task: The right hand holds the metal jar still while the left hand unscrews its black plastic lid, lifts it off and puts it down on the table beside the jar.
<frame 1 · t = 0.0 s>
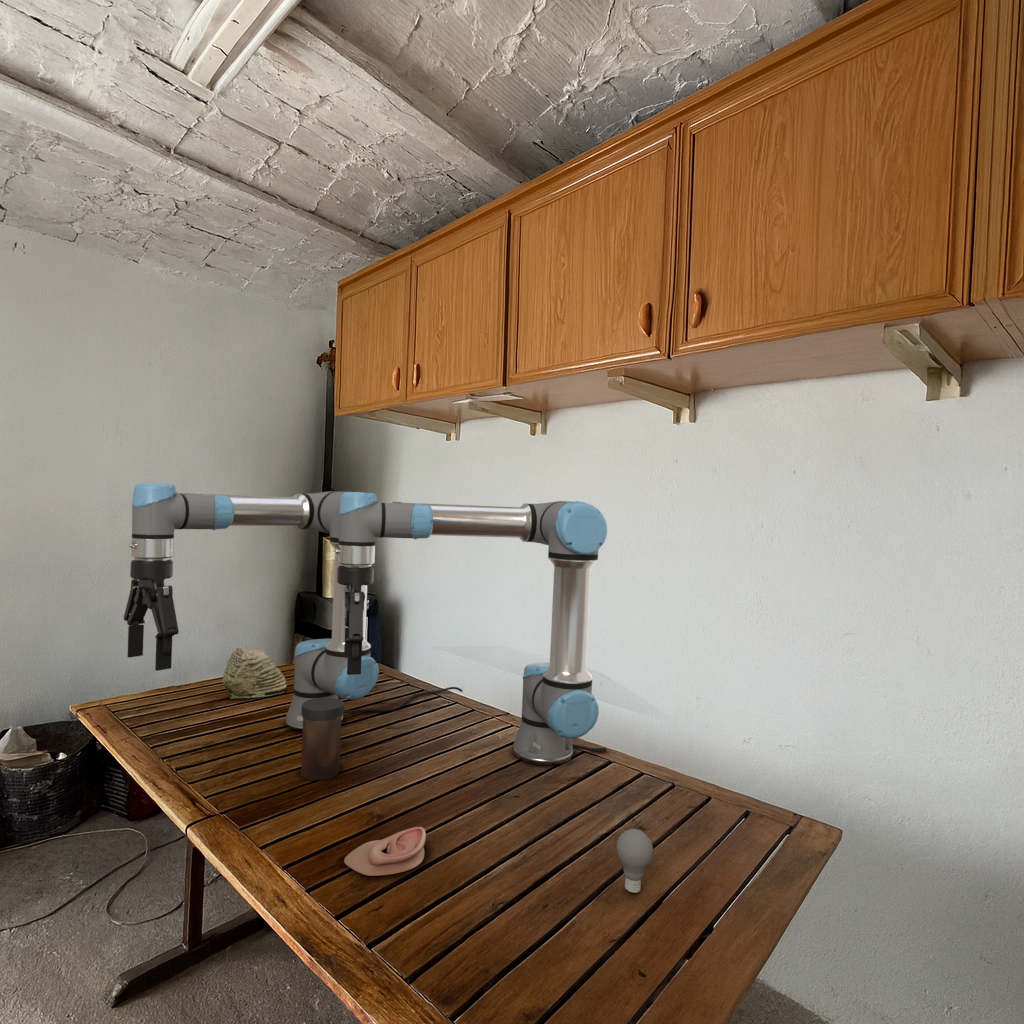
left hand: (148, 662, 129), 28 cm above the table, tool pointing down, fingers open, 13 cm apart
right hand: (352, 665, 134), 28 cm above the table, tool pointing down, fingers open, 13 cm apart
light bulb: (632, 891, 106), on the table
fossil: (254, 694, 198), on the table
anatomical model: (385, 859, 112), on the table
lid: (322, 705, 145), point 15 cm above the table, screwed on, not yet turned
jar: (320, 772, 146), on the table
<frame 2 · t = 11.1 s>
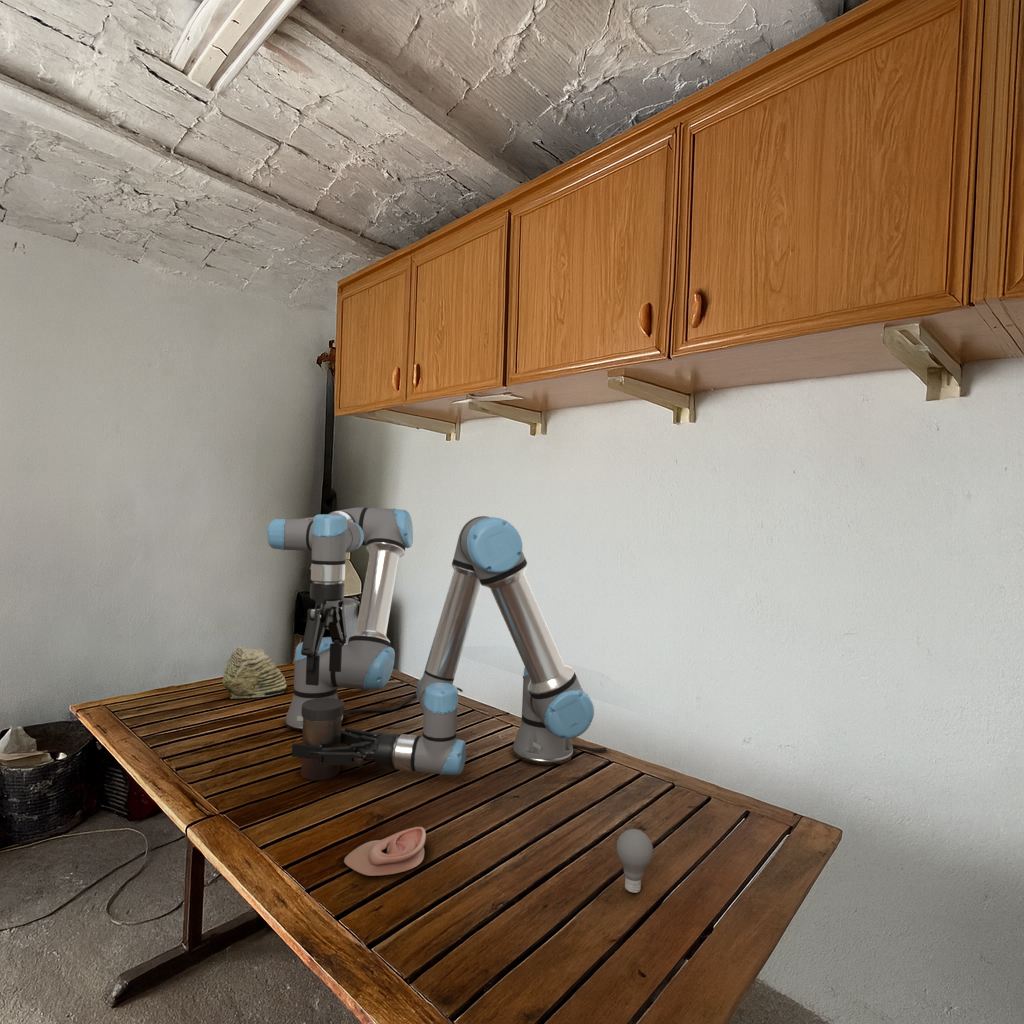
left hand: (324, 677, 145), 22 cm above the table, tool pointing down, fingers open, 11 cm apart
right hand: (302, 742, 146), 7 cm above the table, tool horizontal, fingers closed on jar, 8 cm apart
jar: (320, 772, 146), on the table, touching right hand
everything else where it was.
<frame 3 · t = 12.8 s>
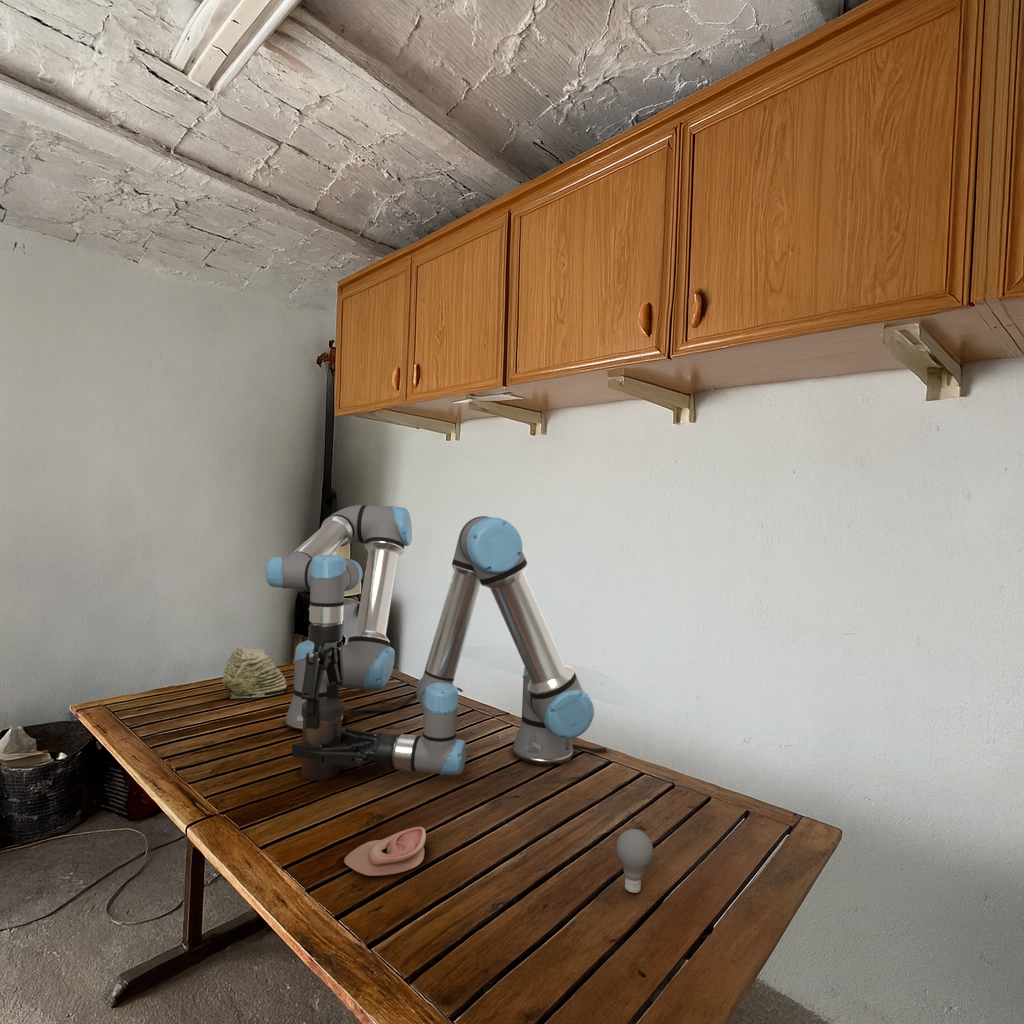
left hand: (322, 720, 145), 12 cm above the table, tool pointing down, fingers closed on lid, 9 cm apart
right hand: (302, 742, 146), 6 cm above the table, tool horizontal, fingers closed on jar, 8 cm apart
lid: (323, 705, 145), point 15 cm above the table, screwed on, not yet turned, touching left hand
jar: (320, 772, 146), on the table, touching right hand
everything else where it was.
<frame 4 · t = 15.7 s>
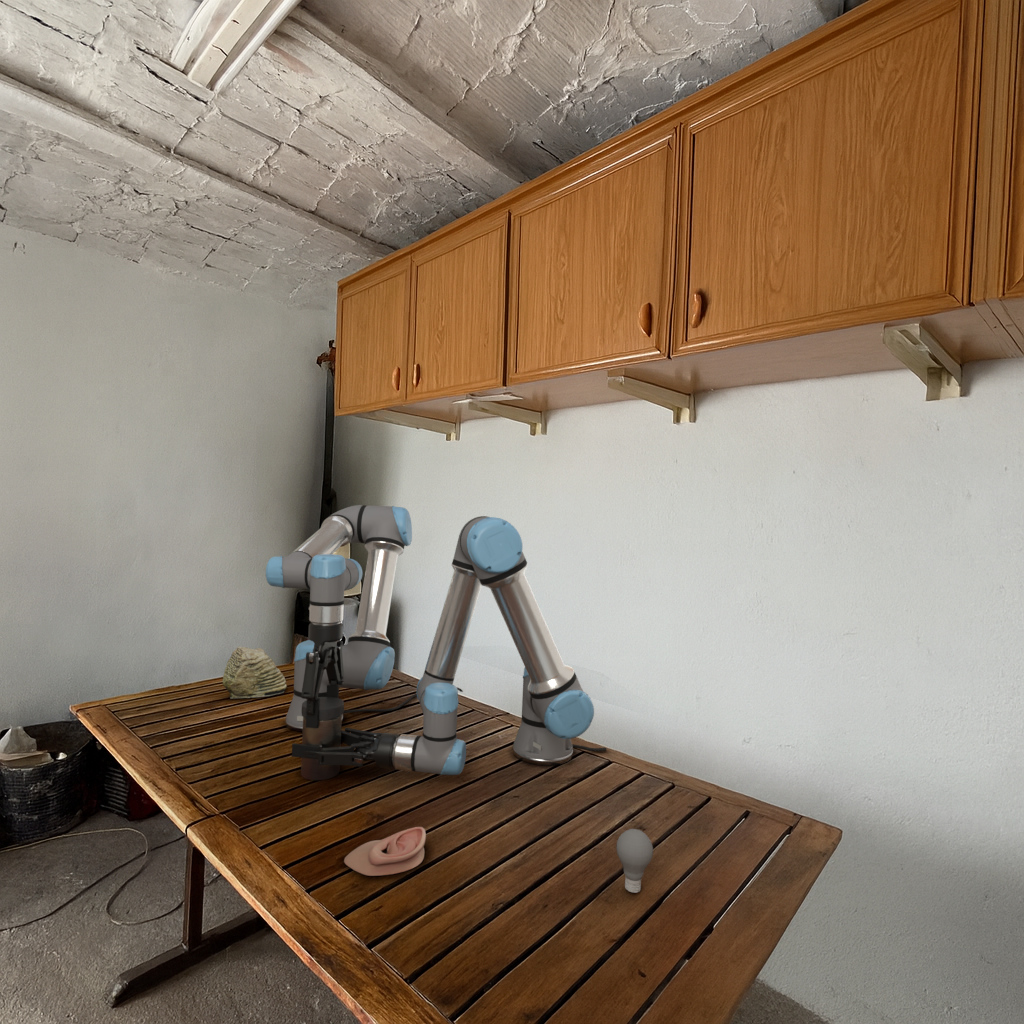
left hand: (322, 719, 145), 12 cm above the table, tool pointing down, fingers closed on lid, 9 cm apart
right hand: (302, 742, 146), 6 cm above the table, tool horizontal, fingers closed on jar, 8 cm apart
lid: (323, 704, 145), point 16 cm above the table, turned 55° so far, risen 0.2 cm, still on its thread, touching left hand
jar: (320, 772, 146), on the table, touching right hand
everything else where it was.
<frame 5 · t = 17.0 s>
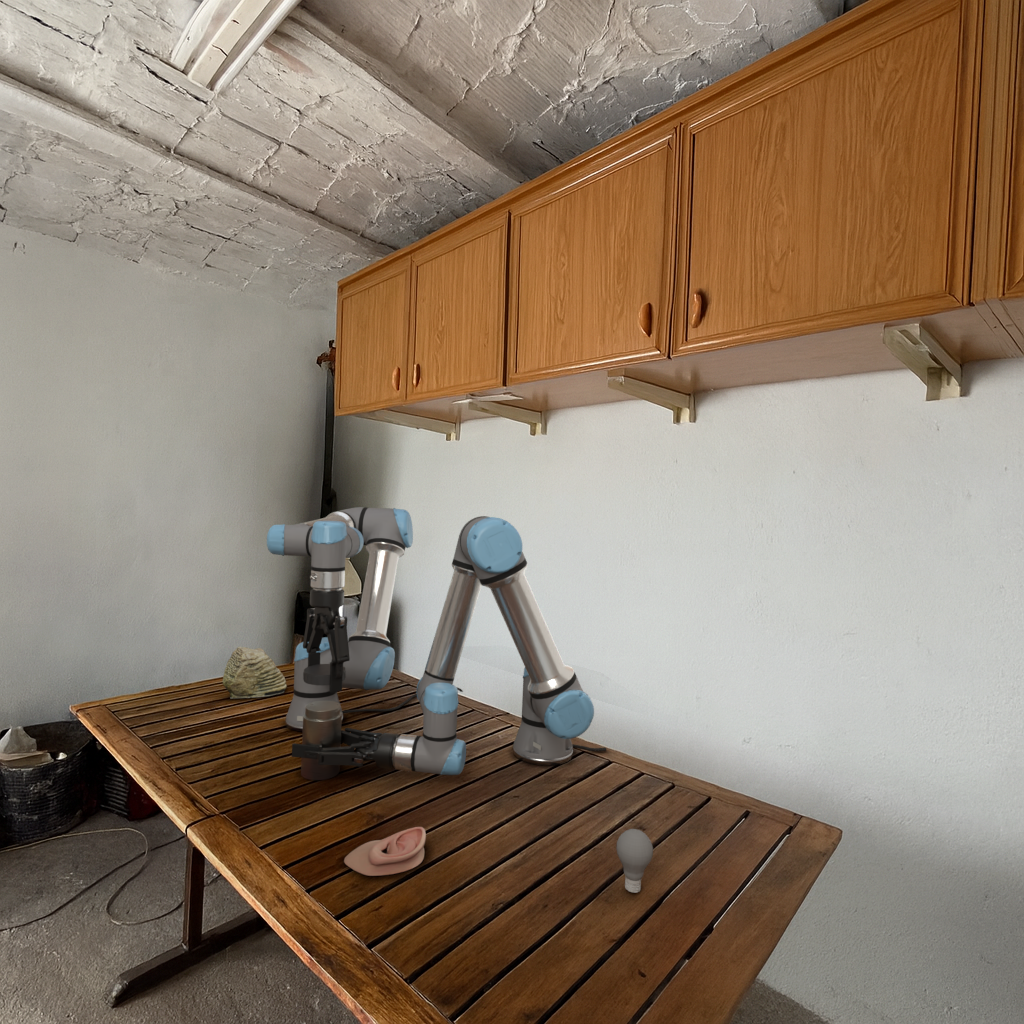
left hand: (324, 685, 146), 20 cm above the table, tool pointing down, fingers closed on lid, 9 cm apart
right hand: (302, 742, 146), 6 cm above the table, tool horizontal, fingers closed on jar, 8 cm apart
lid: (324, 670, 145), point 23 cm above the table, off its thread, touching left hand
jar: (320, 772, 146), on the table, touching right hand
everything else where it was.
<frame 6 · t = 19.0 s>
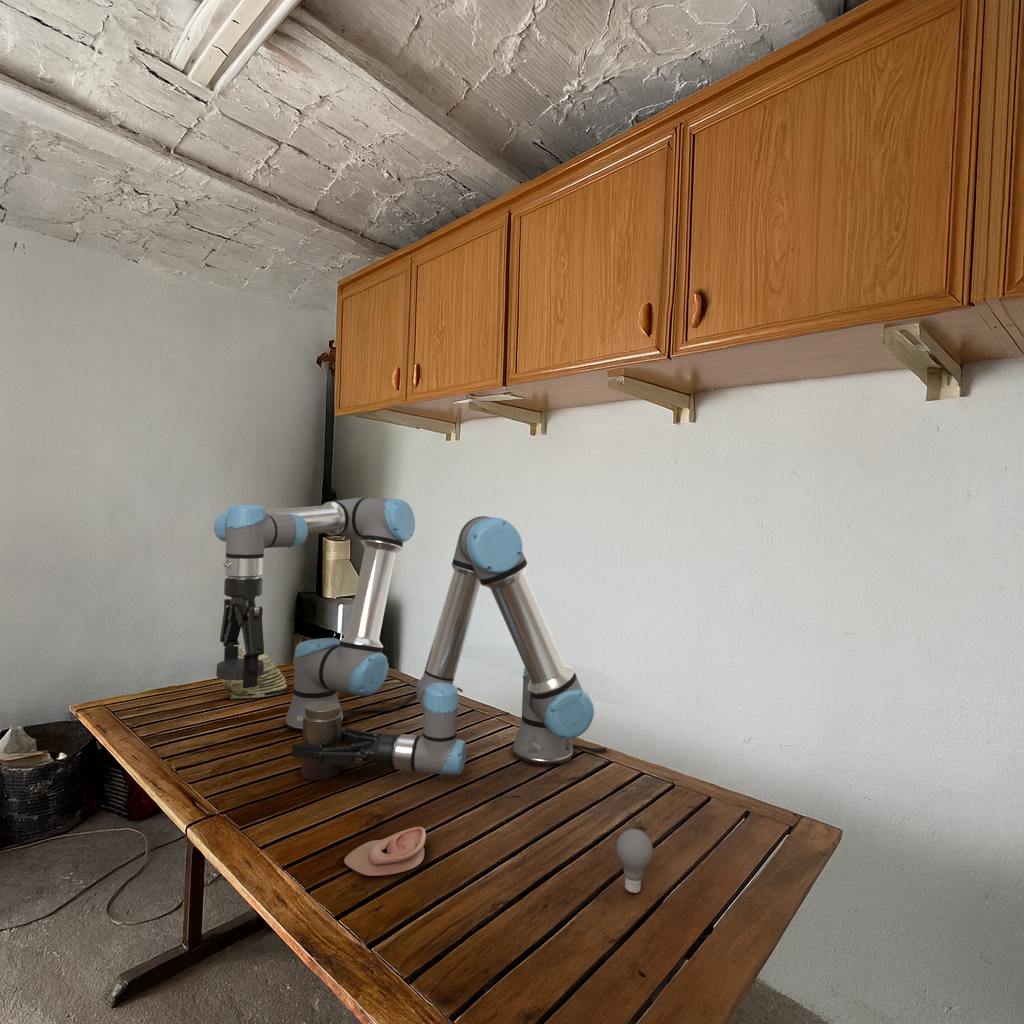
left hand: (239, 681, 136), 23 cm above the table, tool pointing down, fingers closed on lid, 9 cm apart
right hand: (302, 742, 146), 6 cm above the table, tool horizontal, fingers closed on jar, 8 cm apart
lid: (240, 665, 136), point 27 cm above the table, off its thread, touching left hand
jar: (320, 772, 145), on the table, touching right hand
everything else where it was.
when the left hand's fingers open (0 cm above the table, at t = 22.4 s): lid drops 2 cm, point 2 cm above the table.
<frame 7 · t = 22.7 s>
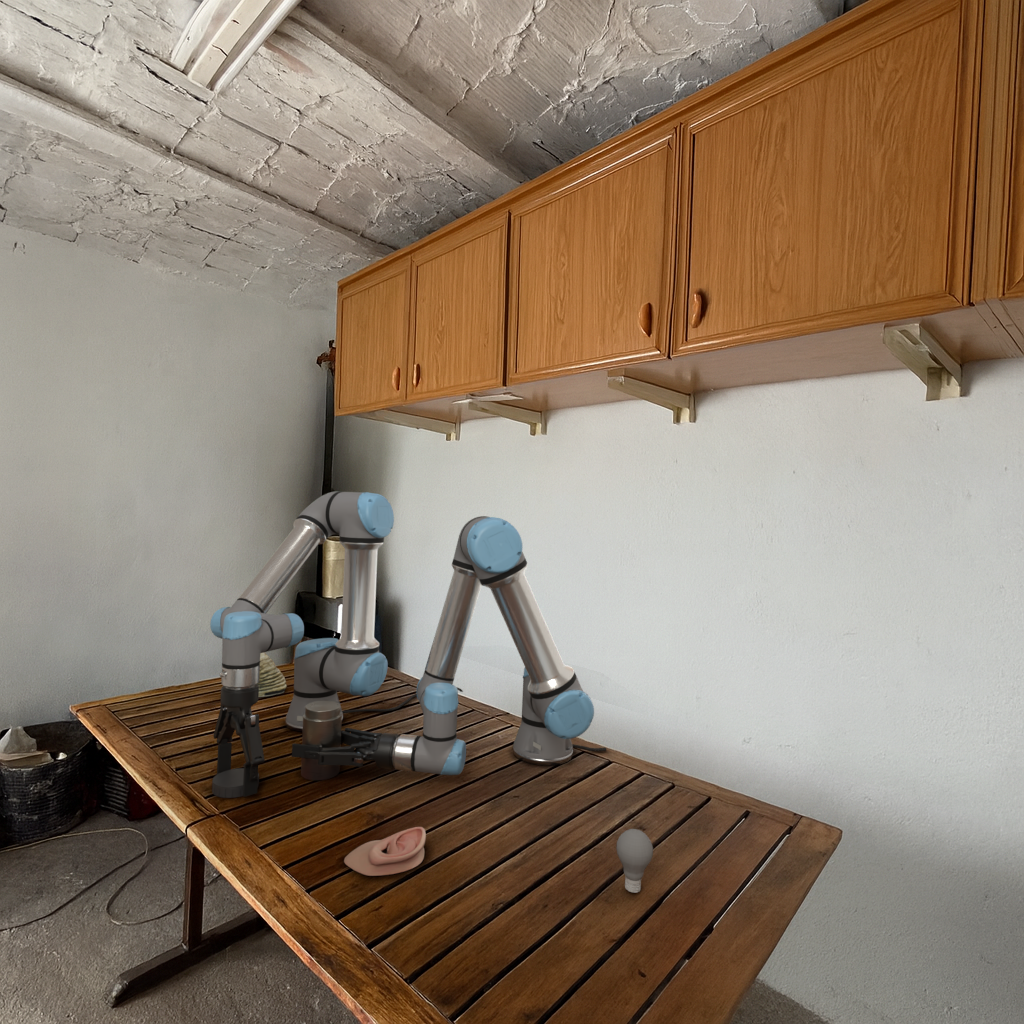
left hand: (236, 783, 136), 1 cm above the table, tool pointing down, fingers open, 13 cm apart
right hand: (302, 742, 146), 6 cm above the table, tool horizontal, fingers closed on jar, 8 cm apart
lid: (236, 778, 136), point 2 cm above the table, off its thread
jar: (320, 772, 145), on the table, touching right hand
everything else where it was.
when the right hand's fingers open (6 cm above the table, at t = 23.4 s): jar stays where it is, on the table.
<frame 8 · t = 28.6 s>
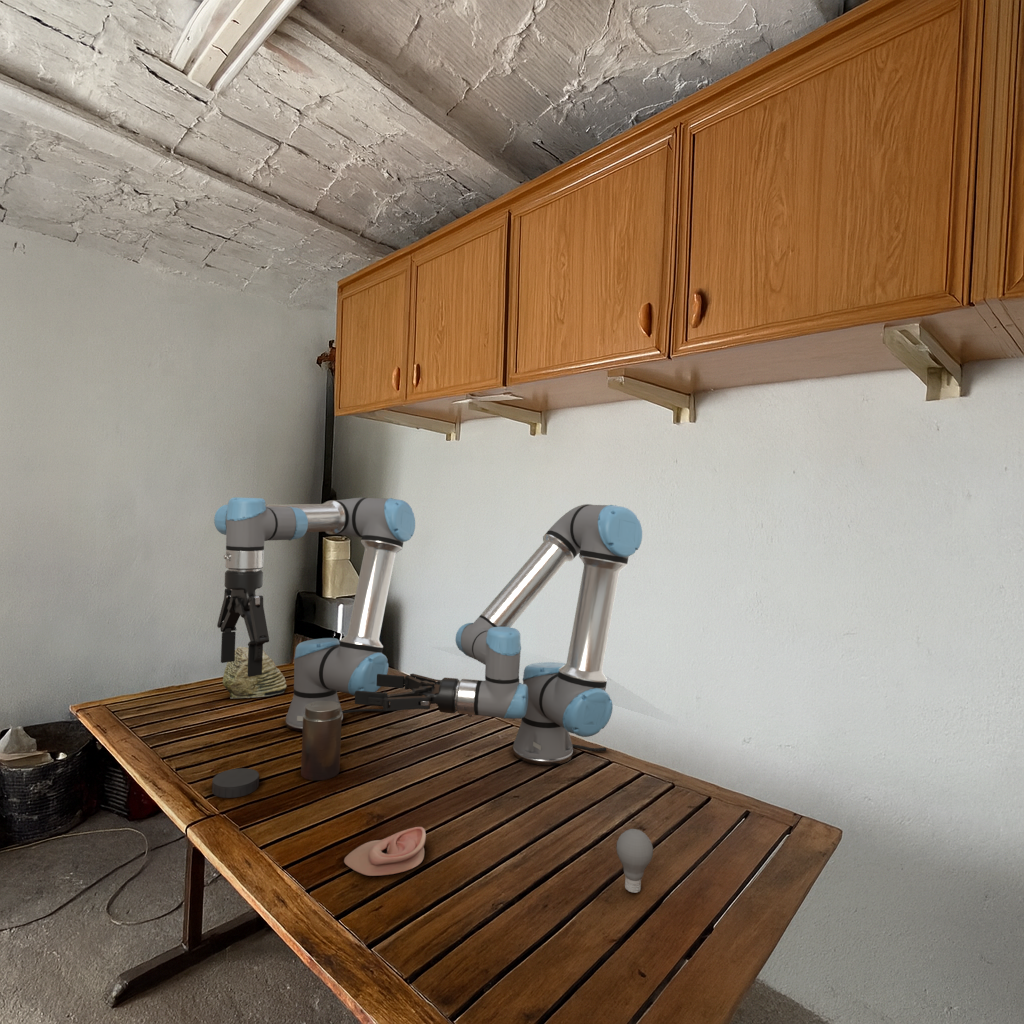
left hand: (240, 668, 136), 26 cm above the table, tool pointing down, fingers open, 13 cm apart
right hand: (366, 688, 144), 20 cm above the table, tool horizontal, fingers open, 13 cm apart
jar: (320, 772, 145), on the table
everything else where it was.
at the end: lid came off its thread; lid point 2.0 cm above the table; the left hand is holding nothing; the right hand is holding nothing; jar tilted 0°; jar moved 0.0 cm from its start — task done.
